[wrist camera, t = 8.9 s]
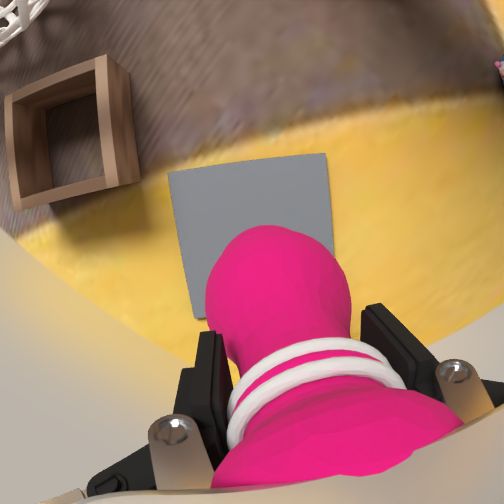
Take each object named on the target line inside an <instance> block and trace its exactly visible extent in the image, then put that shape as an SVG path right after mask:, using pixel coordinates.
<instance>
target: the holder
mask: <svg viewBox="0 0 504 504" xmlns="http://www.w3.org/2000/svg"><path fill="white" fill-rule="evenodd" d="M93 93H96V95H97V109H98V121H99V131H100V141H101V149H102V157H103V165H104V172H105V175H104V176H100V177H96V178H92V179H88V180H84V181H80V182H76V183H72V184H69V185H65V186H61V187H58V188H54V187H53V181H52V174H51V166H50V158H49V148H48V138H47V125H46V110H48V109H51V108H53V107H56V106H58V105H61V104H64V103H67V102H69V101H72V100H75V99H78V98H81V97H84V96H87V95H90V94H93ZM4 115H5V139H6V152H7V163H8V172H9V180H10V187H11V194H12V200H13V206H14V212H19V211H22V210H26V209H29V208H33V207H36V206H40V205H44V204H47V203H51V202H55V201H58V200H62V199H66V198H70V197H74V196H78V195H82V194H86V193H90V192H95V191H99V190H103V189H108V188H112V187H117V186H122V185H126V184H131V183H136V182H141V177H140V170H139V163H138V156H137V148H136V140H135V131H134V122H133V113H132V102H131V91H130V77H129V73H128V72H127V71H126V70H125V69H123V68H122V67H121V66H120V65H119V64H118V63H116V62H115V61H114V60H113V59H112V58H111V57H109V56H108V55H107V54H105V55H102V56H99V57H96V58H93V59H90V60H87V61H85V62H82V63H79V64H76V65H74V66H71V67H68V68H66V69H63V70H61V71H58V72H56V73H53V74H51V75H49V76H46V77H44V78H42V79H40V80H37V81H35V82H33V83H31V84H29V85H27V86H25V87H23V88H20V89H18V90H16V91H14V92H13V93H11V94H9V95H7V96H5V97H4Z"/></svg>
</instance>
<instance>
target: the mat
mask: <svg viewBox="0 0 504 504" xmlns="http://www.w3.org/2000/svg"><path fill="white" fill-rule="evenodd" d="M168 179H169V185H170V192H171V198H172V204H173V210H174V216H175V222H176V228H177V234H178V239H179V245H180V250H181V255H182V260H183V266H184V271H185V276H186V281H187V286H188V290H189V295H190V300H191V304H192V309H193V314H194V318H195V319H196V318H205V317H206V314H205V289H206V285H207V280H208V278H209V275H210V273H211V270H212V268H213V267H214V265H215V263H216V262H217V260H218V259H219V257H220V256H221V255H222V253H223V251H224V249H225V248H226V246H227V245H228V244H229V243H230V242H231V241H232V240H233V239H234V238H235V237H236V236H237V235H239V234H240V233H242V232H243V231H245V230H247V229H250V228H252V227H256V226H260V225H276V226H282V227H285V228H288V229H290V230H292V231H296V232H300V233H303V234H305V235H308V236H310V237H312V238H314V239H315V240H317V241H318V242H320V243H321V244H322V245H324V246H325V247H326V248H327V249H328V250H329V251H330V253H331V254H332V255H333V257H334V249H333V233H332V218H331V206H330V194H329V183H328V173H327V164H326V155H325V153H319V154H306V155H295V156H285V157H275V158H266V159H258V160H250V161H242V162H234V163H227V164H220V165H213V166H207V167H200V168H194V169H188V170H182V171H176V172H171V173H168Z"/></svg>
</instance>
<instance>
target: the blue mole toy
mask: <svg viewBox="0 0 504 504" xmlns="http://www.w3.org/2000/svg"><path fill="white" fill-rule="evenodd" d="M494 65H495V67H497V68H499V73H500V75H501V77H502V81H503V84H504V55H503V57H502V60H501V62H500V61H495V62H494Z"/></svg>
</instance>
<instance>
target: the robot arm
mask: <svg viewBox="0 0 504 504" xmlns="http://www.w3.org/2000/svg"><path fill="white" fill-rule="evenodd" d="M360 341H361V342H364V343H366V344H368V345H370V346H372V347H374V348H375V349H377V350H378V351H379V352H380V353H381V354H382V355H383V356H384V357H385V358H386V359H387V360H388V362H389V364H390V365H391V367H392V369H393V370H394V371H395V372H396V373H397V374H398V375H399V376H400V377H401V379H402V380H403V382H404V384H405V387H406V389H407V390H414V391H416V392H419V393H421V394H423V395H426V396H428V397H430V398H433V399H435V400H437V401H440V402H442V403H444V404H445V405H446V406H448V407H449V408H450V409H451V410H452V411H453V412H454V413H455V414H456V415H457V416H458V417H459V418H460V419H461V420H462V421H463V422H464V425H462V426H460V427H457V428H455V429H454V430H452V431H451V432H449V433H447V434H446V435H444V436H442V437H440V438H439V439H437V440H435V441H434V442H432V443H430V444H428V445H425V446H423V447H421V448H419V449H417V450H415V451H414V452H413V453H412V455H411V456H410V457H409V458H407V459H406V460H405V461H403V462H401V463H399V464H398V465H396V466H394V467H392V468H390V469H388V470H386V471H384V472H382V473H379V474H374V475H369V476H363V477H355V476H346V475H335V476H330V477H324V478H318V479H312V480H305V481H297V482H287V483H275V484H258V485H249V486H239V487H226V488H212V489H210V487H211V483H212V479H213V476H214V474H215V473H214V472H215V471H216V469H217V468H218V467H219V465H220V464H221V462H222V461H223V460H224V458H225V457H226V455H227V454H228V452H229V448H228V445H227V429H228V420H227V407H228V402H229V399H230V396H231V393H232V391H233V384H232V379H231V375H230V370H229V365H228V360H227V355H226V350H225V346H224V341H223V336H222V333H221V334H217V333H216V330H213V331H205V332H200V336H199V342H198V348H197V354H196V361H195V367H193V368H183V369H182V371H181V376H180V381H179V385H178V391H177V395H176V400H175V405H174V410H173V414H172V415H167V416H164V417H161V418H160V419H158V420H156V421H155V422H154V423H153V424H152V425H151V426H150V428H149V430H148V440H149V444H147V445H145V446H144V447H142V448H141V449H139V450H138V451H136V452H134V453H132V454H131V455H129V456H128V457H126V458H124V459H122V460H121V461H119V462H117V463H115V464H114V465H112V466H110V467H109V468H107V469H105V470H103V471H101V472H99V473H98V474H97V475H95V476H94V477H92V479H91V480H90V481H89V482H88V485H87V489H85V490H82V491H81V490H80V489H79V488H77V489H75V490H73V491H70V492H67V493H65V494H62V495H60V496H57V497H54V498H52V499H49V500H46V501H43V502H41V503H38V504H504V383H502V382H496V381H489V380H483V379H480V378H479V376H478V374H477V372H476V370H475V369H474V367H473V366H472V365H471V364H469V363H468V362H466V361H463V360H458V359H450V360H445V361H443V362H441V363H439V362H438V361H437V360H436V358H435V357H434V356H433V355H432V354H431V353H430V352H429V351H428V349H427V348H426V347H425V346H424V345H423V344H422V343H421V342H420V341H419V340H418V339H417V338H416V337H415V336H414V335H413V334H412V333H411V332H410V331H409V330H408V329H407V328H406V327H405V326H404V325H403V324H402V323H401V322H400V321H399V320H398V319H397V318H396V317H395V316H394V315H393V314H392V313H391V312H390V311H389V310H388V309H387V308H386V307H385V306H384V305H383V304H381V303H377V304H372V305H368V306H366V308H365V310H362V312H361V336H360Z"/></svg>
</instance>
